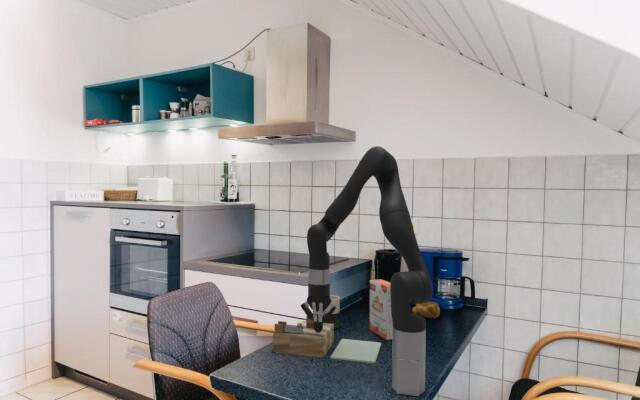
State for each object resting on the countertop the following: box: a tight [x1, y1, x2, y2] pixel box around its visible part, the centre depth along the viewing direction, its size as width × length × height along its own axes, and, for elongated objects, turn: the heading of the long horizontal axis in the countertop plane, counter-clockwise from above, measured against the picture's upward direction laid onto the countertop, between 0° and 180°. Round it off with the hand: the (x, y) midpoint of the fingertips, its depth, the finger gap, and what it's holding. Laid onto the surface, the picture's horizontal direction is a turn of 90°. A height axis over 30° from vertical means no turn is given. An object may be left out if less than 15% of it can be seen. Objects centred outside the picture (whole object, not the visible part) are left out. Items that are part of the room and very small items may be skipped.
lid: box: [289, 314, 334, 340], centre depth 150 cm, size 16×12×6 cm
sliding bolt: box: [283, 322, 303, 334], centre depth 145 cm, size 2×8×3 cm, turn 75°
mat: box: [330, 338, 382, 364], centre depth 148 cm, size 19×15×1 cm
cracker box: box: [369, 278, 393, 341], centre depth 166 cm, size 14×6×21 cm, turn 21°
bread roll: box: [411, 301, 441, 319], centre depth 194 cm, size 13×10×8 cm
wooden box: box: [272, 320, 335, 359], centre depth 150 cm, size 16×18×10 cm
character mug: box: [323, 294, 341, 330], centre depth 174 cm, size 11×7×13 cm, turn 142°
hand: (318, 331), depth 143 cm, fingers closed
